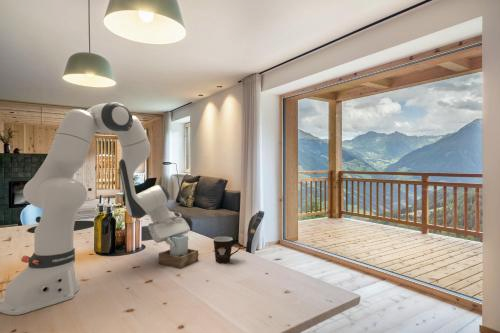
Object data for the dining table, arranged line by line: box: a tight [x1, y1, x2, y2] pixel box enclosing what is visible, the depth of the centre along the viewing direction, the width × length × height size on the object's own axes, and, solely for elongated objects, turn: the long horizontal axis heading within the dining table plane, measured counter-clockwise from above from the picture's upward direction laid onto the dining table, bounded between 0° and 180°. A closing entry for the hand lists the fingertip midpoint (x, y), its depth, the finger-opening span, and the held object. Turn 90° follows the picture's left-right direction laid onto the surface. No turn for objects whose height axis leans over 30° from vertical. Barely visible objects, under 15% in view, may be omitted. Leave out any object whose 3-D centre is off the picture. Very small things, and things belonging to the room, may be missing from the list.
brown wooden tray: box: [158, 248, 199, 269], centre depth 136 cm, size 12×12×4 cm
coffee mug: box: [213, 236, 242, 264], centre depth 137 cm, size 12×9×10 cm
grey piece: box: [169, 234, 189, 257], centre depth 136 cm, size 6×5×8 cm
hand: (180, 244), depth 136 cm, fingers closed on grey piece, 6 cm apart
